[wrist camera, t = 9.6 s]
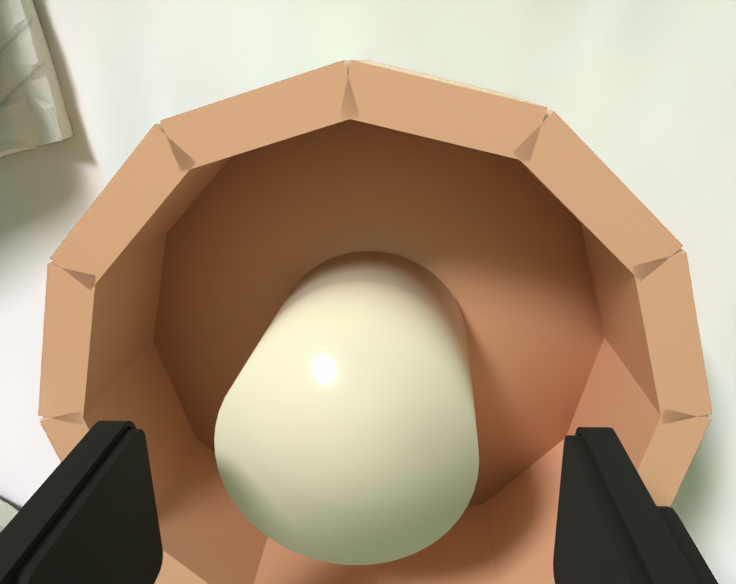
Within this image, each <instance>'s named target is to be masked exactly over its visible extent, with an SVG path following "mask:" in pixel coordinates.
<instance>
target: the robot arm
mask: <svg viewBox="0 0 736 584" xmlns="http://www.w3.org/2000/svg"><path fill="white" fill-rule="evenodd" d="M162 561H163V548H162V541H161V534H160V528H159V521H158V515H157V508H156V501H155V495H154V488H153V482H152V475H151V468H150V462H149V455H148V449H147V442H146V436H145V433H144V431H143V430H142V429H136V426H135V424H134V423H133V422H132V421H107V420H102V421H98V422H97V423H95V424H94V426H93V427H92V428H91V429H90V430H89V431H88V432H87V434H86V435H85V436H84V437H83V438H82V439H81V440H80V442H79V443H78V444H77V445H76V446H75V447H74V449H73V450H72V451H71V452H70V453H69V454H68V455H67V457H66V458H65V459H64V460H63V461H62V462H61V463H60V465H59V466H58V467H57V468H56V469H55V470H54V472H53V473H52V474H51V475H50V476H49V477H48V478H47V480H46V481H45V482H44V483H43V484H42V485H41V486H40V488H39V489H38V490H37V491H36V492H35V493H34V495H33V496H32V497H31V498H30V499H29V500H28V501H27V503H26V504H25V505H24V506H23V507H22V508H21V509H20V511H18V510H16V509H15V508H14V507H12V506H11V505H9V504H8V503H6V502H4V501H2V500H1V499H0V584H154V583H155V581H156V579H157V577H158V575H159V572H160V570H161V566H162ZM553 573H554V581H555V584H718V582H717V581H716V579H715V577H714V576H713V574H712V572H711V571H710V569H709V567H708V566H707V564H706V562H705V560H704V559H703V557H702V555H701V554H700V552H699V550H698V549H697V547H696V545H695V544H694V542H693V540H692V539H691V537H690V535H689V533H688V532H687V530H686V528H685V527H684V525H683V523H682V522H681V520H680V518H679V517H678V515H677V514H676V512H675V511H674V510H673V509H672V508H670V507H668V506H656V504H655V502H654V501H653V499H652V497H651V495H650V493H649V492H648V490H647V488H646V486H645V484H644V483H643V481H642V479H641V477H640V476H639V474H638V472H637V470H636V468H635V467H634V465H633V463H632V461H631V459H630V458H629V456H628V454H627V452H626V450H625V449H624V447H623V445H622V443H621V441H620V440H619V438H618V436H617V434H616V432H615V431H614V429H613V428H610V427H578V428H577V429H576V432H575V435H566V436H565V439H564V446H563V457H562V468H561V479H560V490H559V501H558V512H557V523H556V534H555V545H554V556H553Z"/></svg>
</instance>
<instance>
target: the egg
mask: <svg viewBox="0 0 736 584" xmlns="http://www.w3.org/2000/svg"><path fill="white" fill-rule="evenodd" d="M214 446H215V457H216V462H217V467H218V471H219V473H220V476H221V479H222V482H223V484H224V486H225V488H226V490H227V492H228V494H229V496H230V498H231V499H232V500H233V502H234V503H235V505H236V506H237V508H238V509H239V510H240V512H241V513H242V514H243V515H244V516H245V517H246V518H247V519H248V521H249V522H250V523H252V524H253V525H254V526H255V527H256V528H257V529H258V530H259V531H261V532H262V533H263V534H265V535H266V536H267V537H269V538H270V539H272V540H273V541H275V542H276V543H278V544H280V545H282V546H283V547H285V548H287V549H289V550H291V551H294V552H296V553H298V554H301V555H303V556H306V557H309V558H313V559H316V560H319V561H324V562H329V563H334V564H344V565H371V564H379V563H385V562H390V561H394V560H398V559H401V558H404V557H407V556H409V555H412V554H414V553H416V552H418V551H420V550H422V549H424V548H426V547H428V546H429V545H431V544H432V543H434V542H435V541H437V540H438V539H440V538H441V537H442V536H443V535H444V534H445V533H446V532H448V531H449V530H450V529H451V528H452V527H453V525H454V524H455V523H456V522H457V521H458V520H459V518H460V517H461V515H462V514H463V512H464V511H465V509H466V508H467V506H468V504H469V502H470V499H471V497H472V495H473V493H474V489H475V486H476V482H477V478H478V469H479V449H478V438H477V428H476V418H475V408H474V398H473V388H472V379H471V369H470V359H469V349H468V339H467V330H466V325H465V321H464V318H463V315H462V312H461V309H460V307H459V305H458V303H457V301H456V299H455V298H454V296H453V295H452V293H451V292H450V291H449V289H448V288H447V287H446V286H445V285H444V284H443V282H442V281H441V280H440V279H439V278H438V277H436V276H435V275H434V274H433V273H431V272H430V271H429V270H427V269H426V268H424V267H423V266H421V265H419V264H418V263H416V262H413V261H411V260H409V259H407V258H404V257H401V256H398V255H395V254H390V253H385V252H375V251H362V252H353V253H348V254H343V255H340V256H337V257H334V258H331V259H329V260H327V261H325V262H323V263H321V264H319V265H317V266H316V267H315V268H313V269H312V270H310V271H309V272H308V273H307V274H306V275H304V276H303V277H302V278H301V279H300V280H299V281H298V283H297V284H296V285H295V286H294V287H293V289H292V290H291V292H290V294H289V295H288V297H287V298H286V300H285V302H284V303H283V305H282V306H281V308H280V310H279V311H278V313H277V314H276V316H275V318H274V319H273V321H272V322H271V324H270V326H269V327H268V329H267V331H266V332H265V334H264V335H263V337H262V339H261V340H260V342H259V343H258V345H257V347H256V348H255V350H254V351H253V353H252V355H251V356H250V358H249V359H248V361H247V363H246V364H245V366H244V367H243V369H242V371H241V372H240V374H239V375H238V377H237V379H236V380H235V382H234V383H233V385H232V387H231V388H230V390H229V391H228V393H227V395H226V396H225V398H224V401H223V403H222V405H221V408H220V410H219V413H218V418H217V422H216V426H215V437H214Z"/></svg>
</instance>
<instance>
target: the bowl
mask: <svg viewBox="0 0 736 584" xmlns="http://www.w3.org/2000/svg"><path fill="white" fill-rule="evenodd" d="M682 246H683V245H682V244H681V243H680V242H679V241H678V240H677V239H676V238H675V237H674V236H673V235H672V234H671V233H670V232H669V231H668V230H667V228H666V227H665V226H664V225H663V224H662V223H661V222H660V221H659V220H658V219H657V218H656V217H655V216H654V215H653V214H652V213H651V212H650V211H649V210H648V209H647V208H646V207H645V206H644V205H643V203H642V202H641V201H640V200H639V199H638V198H637V197H636V196H635V195H634V194H633V193H632V192H631V191H630V190H629V189H628V188H627V187H626V186H625V185H624V184H623V183H622V182H621V181H620V180H619V178H618V177H617V176H616V175H615V174H614V173H613V172H612V171H611V170H610V169H609V168H608V167H607V166H606V165H605V164H604V163H603V162H602V161H601V160H600V159H599V158H598V157H597V156H596V155H595V154H594V152H593V151H592V150H591V149H590V148H589V147H588V146H587V145H586V144H585V143H584V142H583V141H582V140H581V139H580V138H579V137H578V136H577V135H576V134H575V133H574V132H573V131H572V130H571V129H570V127H569V126H568V125H567V124H566V123H565V122H564V121H563V120H562V119H561V118H560V117H559V116H558V115H557V114H556V113H555V112H554V111H551V110H548V109H547V107H544V106H541V105H538V104H535V103H532V102H529V101H526V100H523V99H520V98H517V97H514V96H511V95H507V94H503V93H499V92H495V91H491V90H487V89H483V88H479V87H474V86H470V85H466V84H462V83H458V82H454V81H450V80H446V79H441V78H437V77H433V76H429V75H425V74H421V73H417V72H413V71H408V70H404V69H400V68H396V67H392V66H388V65H384V64H380V63H376V62H371V61H363V60H351V61H348V60H343V61H340V62H337V63H334V64H331V65H328V66H325V67H322V68H319V69H316V70H312V71H309V72H306V73H303V74H300V75H297V76H294V77H291V78H288V79H285V80H282V81H279V82H276V83H273V84H270V85H267V86H264V87H261V88H258V89H255V90H252V91H249V92H246V93H243V94H240V95H237V96H234V97H231V98H228V99H225V100H222V101H218V102H215V103H212V104H209V105H206V106H203V107H200V108H197V109H194V110H191V111H188V112H185V113H182V114H179V115H176V116H173V117H170V118H167V119H164V120H161V123H160V124H156V125H154V126H153V127H152V128H151V130H150V131H149V132H148V134H147V135H146V136H145V137H144V139H143V140H142V141H141V143H140V144H139V145H138V146H137V148H136V149H135V150H134V151H133V153H132V154H131V155H130V157H129V158H128V159H127V160H126V162H125V163H124V164H123V165H122V167H121V168H120V169H119V171H118V172H117V173H116V174H115V176H114V177H113V178H112V180H111V181H110V182H109V183H108V185H107V186H106V187H105V188H104V190H103V191H102V192H101V194H100V195H99V196H98V197H97V199H96V200H95V201H94V203H93V204H92V205H91V206H90V208H89V209H88V210H87V211H86V213H85V214H84V215H83V217H82V218H81V219H80V220H79V222H78V223H77V224H76V226H75V227H74V228H73V229H72V231H71V232H70V233H69V234H68V236H67V237H66V238H65V240H64V241H63V242H62V243H61V245H60V246H59V247H58V249H57V250H56V251H55V252H54V254H53V255H52V256H51V257H50V259H51V260H53V262H51V263H49V264H48V267H47V283H46V299H45V315H44V331H43V347H42V363H41V379H40V395H39V411H38V415H39V416H44V417H43V418H42V419H41V420H40V423H41V425H42V427H43V429H44V430H45V432H46V434H47V436H48V438H49V440H50V442H51V444H52V446H53V448H54V450H55V451H56V453H57V455H58V457H59V459H60V461H61V462H62V461H63V460H64V459H65V458H66V457H67V455H68V454H69V453H70V452H71V451H72V450H73V449H74V447H75V446H76V445H77V444H78V443H79V442H80V440H81V439H82V438H83V437H84V436H85V435H86V434H87V432H88V431H89V430H90V429H91V428H92V427H93V426H94V424H95V423H97V422H98V421H102V420H107V421H132V422H133V423H134V424H135V426H136V429H142V430H143V431H144V433H145V436H146V442H147V449H148V455H149V462H150V468H151V475H152V482H153V488H154V495H155V501H156V508H157V515H158V521H159V528H160V534H161V541H162V548H163V561H162V566H161V570H160V572H159V575H158V577H157V579H156V581H155V583H154V584H555V581H554V573H553V556H554V545H555V534H556V523H557V512H558V501H559V490H560V479H561V468H562V457H563V446H564V439H565V436H566V435H575V432H576V429H577V428H578V427H610V428H613V429H614V431H615V432H616V434H617V436H618V438H619V440H620V441H621V443H622V445H623V447H624V449H625V450H626V452H627V454H628V456H629V458H630V459H631V461H632V463H633V465H634V467H635V468H636V470H637V472H638V474H639V476H640V477H641V479H642V481H643V483H644V484H645V486H646V488H647V490H648V492H649V493H650V495H651V497H652V499H653V501H654V502H655V504H656V506H668V507H670V506H671V504H672V502H673V500H674V498H675V496H676V494H677V491H678V489H679V487H680V485H681V483H682V481H683V479H684V476H685V474H686V472H687V470H688V468H689V466H690V464H691V462H692V459H693V457H694V455H695V453H696V451H697V449H698V447H699V444H700V442H701V440H702V438H703V436H704V434H705V432H706V430H707V427H708V425H709V423H710V421H711V419H710V418H709V417H708V415H707V414H712V410H711V404H710V397H709V391H708V385H707V379H706V372H705V366H704V360H703V354H702V347H701V341H700V335H699V329H698V322H697V316H696V310H695V304H694V297H693V291H692V285H691V279H690V272H689V266H688V260H687V254H686V252H685V251H684V250H682V249H681V247H682ZM362 251H375V252H385V253H390V254H395V255H398V256H401V257H404V258H407V259H409V260H411V261H413V262H416V263H418V264H419V265H421V266H423V267H424V268H426V269H427V270H429V271H430V272H431V273H433V274H434V275H435V276H436V277H438V278H439V279H440V280H441V281H442V282H443V284H444V285H445V286H446V287H447V288H448V289H449V291H450V292H451V293H452V295H453V296H454V298H455V299H456V301H457V303H458V305H459V307H460V309H461V312H462V315H463V318H464V321H465V325H466V330H467V339H468V349H469V359H470V369H471V379H472V388H473V398H474V408H475V418H476V428H477V438H478V449H479V469H478V478H477V482H476V486H475V489H474V493H473V495H472V497H471V499H470V502H469V504H468V506H467V508H466V509H465V511H464V512H463V514H462V515H461V517H460V518H459V520H458V521H457V522H456V523H455V524H454V525H453V527H452V528H451V529H450V530H449V531H448V532H446V533H445V534H444V535H443V536H442V537H441V538H440V539H438V540H437V541H435V542H434V543H432V544H431V545H429V546H428V547H426V548H424V549H422V550H420V551H418V552H416V553H414V554H412V555H409V556H407V557H404V558H401V559H398V560H394V561H390V562H385V563H379V564H371V565H344V564H334V563H329V562H324V561H319V560H316V559H313V558H309V557H306V556H303V555H301V554H298V553H296V552H294V551H291V550H289V549H287V548H285V547H283V546H282V545H280V544H278V543H276V542H275V541H273V540H272V539H270V538H269V537H267V536H266V535H265V534H263V533H262V532H261V531H259V530H258V529H257V528H256V527H255V526H254V525H253V524H252V523H250V522H249V521H248V519H247V518H246V517H245V516H244V515H243V514H242V513H241V512H240V510H239V509H238V508H237V506H236V505H235V503H234V502H233V500H232V499H231V498H230V496H229V494H228V492H227V490H226V488H225V486H224V484H223V482H222V479H221V476H220V473H219V471H218V467H217V462H216V457H215V446H214V437H215V426H216V422H217V418H218V413H219V410H220V408H221V405H222V403H223V401H224V398H225V396H226V395H227V393H228V391H229V390H230V388H231V387H232V385H233V383H234V382H235V380H236V379H237V377H238V375H239V374H240V372H241V371H242V369H243V367H244V366H245V364H246V363H247V361H248V359H249V358H250V356H251V355H252V353H253V351H254V350H255V348H256V347H257V345H258V343H259V342H260V340H261V339H262V337H263V335H264V334H265V332H266V331H267V329H268V327H269V326H270V324H271V322H272V321H273V319H274V318H275V316H276V314H277V313H278V311H279V310H280V308H281V306H282V305H283V303H284V302H285V300H286V298H287V297H288V295H289V294H290V292H291V290H292V289H293V287H294V286H295V285H296V284H297V283H298V281H299V280H300V279H301V278H302V277H303V276H304V275H306V274H307V273H308V272H309V271H310V270H312V269H313V268H315V267H316V266H317V265H319V264H321V263H323V262H325V261H327V260H329V259H331V258H334V257H337V256H340V255H343V254H348V253H353V252H362Z"/></svg>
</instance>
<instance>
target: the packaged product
mask: <svg viewBox="0 0 736 584" xmlns="http://www.w3.org/2000/svg"><path fill="white" fill-rule="evenodd" d="M73 135H74V134H73V131H72V127H71V124H70V121H69V117H68V114H67V110H66V106H65V103H64V99H63V96H62V92H61V89H60V85H59V82H58V78H57V74H56V71H55V67H54V64H53V60H52V57H51V54H50V51H49V48H48V45H47V42H46V39H45V36H44V33H43V30H42V28H41V25H40V22H39V19H38V16H37V13H36V10H35V7H34V4H33V1H32V0H0V157H3V156H6V155H10V154H13V153H17V152H20V151H24V150H27V149H31V148H35V147H38V146H42V145H46V144H50V143H54V142H58V141H62V140H65V139H67V138H69V137H71V136H73Z"/></svg>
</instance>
